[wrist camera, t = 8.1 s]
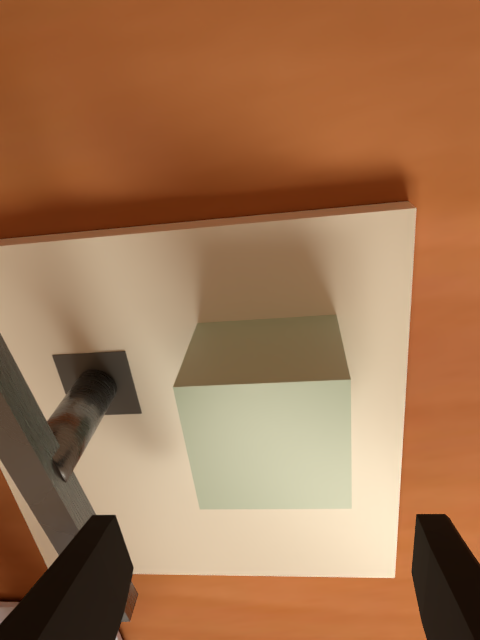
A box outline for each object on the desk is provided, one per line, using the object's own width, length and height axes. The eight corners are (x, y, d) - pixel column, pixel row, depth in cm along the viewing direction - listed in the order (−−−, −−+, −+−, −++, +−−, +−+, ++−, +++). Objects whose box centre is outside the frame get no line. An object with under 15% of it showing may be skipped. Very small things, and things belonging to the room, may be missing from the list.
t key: (54, 240, 15) (-42, 302, 11) (167, 506, 21) (135, 621, 16) (13, 249, 16) (-97, 313, 11) (136, 509, 21) (95, 623, 17)
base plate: (390, 558, 23) (395, 578, 22) (58, 555, 25) (49, 573, 24) (408, 201, 15) (416, 208, 14) (-81, 246, 17) (-102, 255, 16)
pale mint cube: (339, 426, 18) (351, 508, 14) (216, 429, 19) (199, 509, 15) (336, 314, 16) (350, 379, 12) (197, 323, 16) (172, 387, 13)
